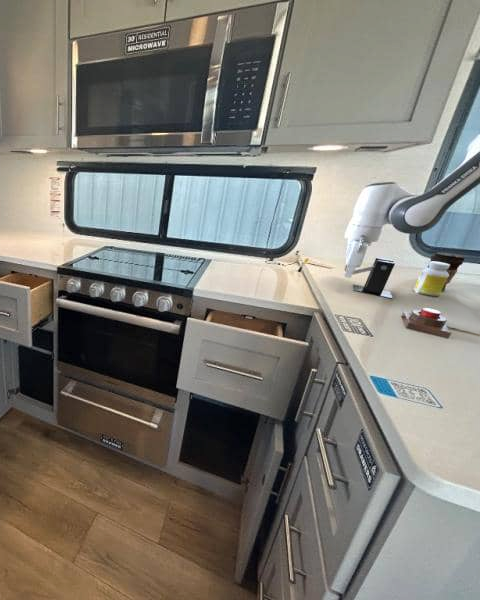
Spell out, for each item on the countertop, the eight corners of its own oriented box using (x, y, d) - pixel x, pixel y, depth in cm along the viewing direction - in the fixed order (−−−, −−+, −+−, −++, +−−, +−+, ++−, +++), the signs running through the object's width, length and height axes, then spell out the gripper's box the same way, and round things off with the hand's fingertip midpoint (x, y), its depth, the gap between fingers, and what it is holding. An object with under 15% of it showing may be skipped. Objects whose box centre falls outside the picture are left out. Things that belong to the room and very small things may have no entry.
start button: (418, 312, 90) (421, 306, 89) (436, 316, 88) (439, 310, 87) (420, 316, 87) (423, 310, 86) (439, 320, 85) (442, 314, 84)
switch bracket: (352, 293, 111) (366, 259, 106) (352, 287, 117) (365, 255, 112) (391, 301, 105) (407, 266, 101) (388, 294, 111) (404, 261, 107)
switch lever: (347, 279, 112) (344, 272, 112) (346, 275, 116) (344, 269, 115) (390, 269, 104) (388, 262, 104) (389, 266, 108) (386, 259, 108)
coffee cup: (454, 295, 115) (474, 259, 110) (425, 291, 118) (443, 255, 113) (438, 287, 123) (456, 253, 118) (411, 283, 125) (427, 250, 120)
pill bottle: (441, 300, 109) (459, 267, 104) (417, 297, 111) (433, 264, 106) (430, 294, 115) (446, 262, 110) (407, 290, 117) (422, 259, 112)
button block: (401, 316, 94) (406, 305, 93) (439, 325, 90) (445, 313, 89) (405, 328, 87) (411, 316, 86) (448, 338, 83) (455, 326, 81)
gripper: (377, 240, 99) (359, 283, 104) (372, 231, 114) (357, 269, 119) (350, 236, 102) (335, 278, 107) (350, 228, 117) (336, 266, 123)
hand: (347, 274), depth 113 cm, fingers open, 8 cm apart
